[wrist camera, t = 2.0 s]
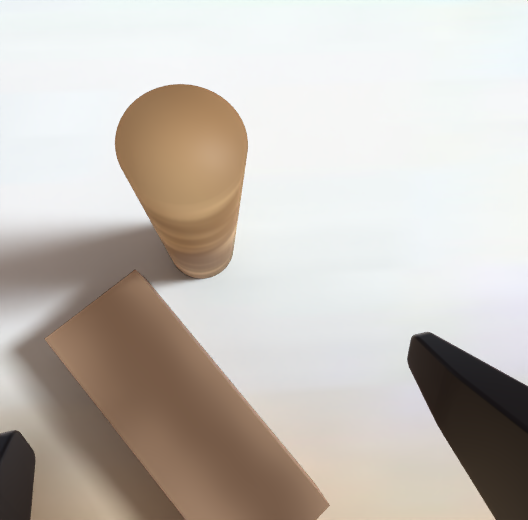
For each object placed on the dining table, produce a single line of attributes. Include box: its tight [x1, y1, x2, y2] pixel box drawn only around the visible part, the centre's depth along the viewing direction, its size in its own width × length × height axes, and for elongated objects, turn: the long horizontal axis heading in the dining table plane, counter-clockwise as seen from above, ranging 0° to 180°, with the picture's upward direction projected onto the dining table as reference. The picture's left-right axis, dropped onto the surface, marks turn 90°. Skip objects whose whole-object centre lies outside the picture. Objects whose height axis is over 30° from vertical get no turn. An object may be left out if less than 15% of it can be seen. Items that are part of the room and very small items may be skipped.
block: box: [45, 270, 330, 520], centre depth 19 cm, size 5×14×3 cm, turn 41°
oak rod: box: [115, 84, 248, 278], centre depth 17 cm, size 4×4×12 cm
